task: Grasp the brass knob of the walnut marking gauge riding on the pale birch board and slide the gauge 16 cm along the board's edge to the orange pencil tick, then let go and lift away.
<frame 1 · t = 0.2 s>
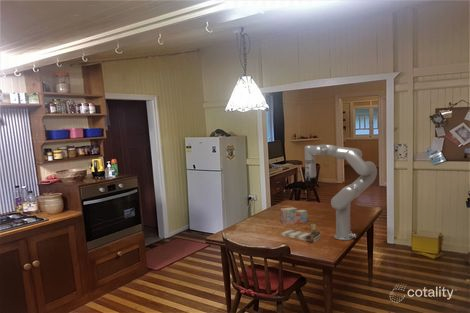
hand: (310, 184, 245), 36 cm above the table, tool pointing down, fingers open, 9 cm apart
stack of blocks: (294, 222, 276), on the table
birch board: (300, 236, 240), on the table
marking gauge: (313, 231, 233), point 6 cm above the table, slide at 0.0 cm
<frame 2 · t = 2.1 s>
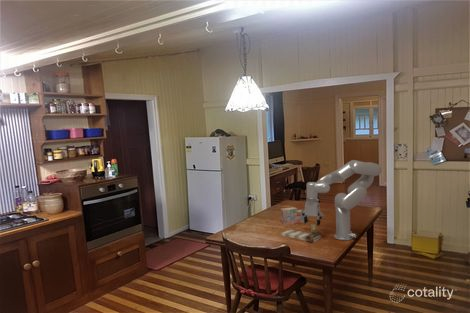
hand: (312, 223, 232), 11 cm above the table, tool pointing down, fingers open, 9 cm apart
nothing on the table moved.
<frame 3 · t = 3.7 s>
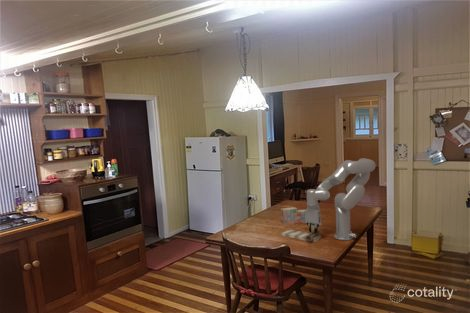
hand: (313, 232, 233), 5 cm above the table, tool pointing down, fingers closed on marking gauge, 3 cm apart
marking gauge: (313, 231, 233), point 6 cm above the table, slide at 0.0 cm, touching gripper
everything else where it was.
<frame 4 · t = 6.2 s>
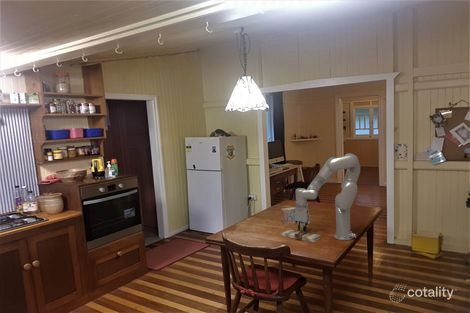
hand: (302, 230, 238), 5 cm above the table, tool pointing down, fingers closed on marking gauge, 3 cm apart
marking gauge: (302, 229, 238), point 6 cm above the table, slide at 8.8 cm, touching gripper
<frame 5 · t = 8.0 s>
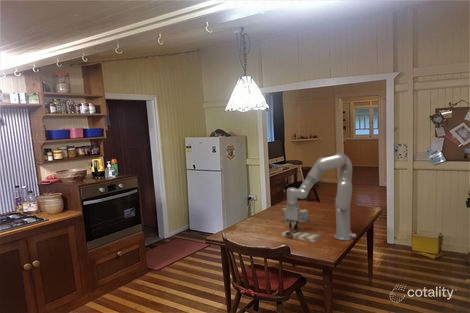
hand: (293, 228, 243), 5 cm above the table, tool pointing down, fingers closed on marking gauge, 3 cm apart
marking gauge: (293, 227, 243), point 6 cm above the table, slide at 15.9 cm, touching gripper
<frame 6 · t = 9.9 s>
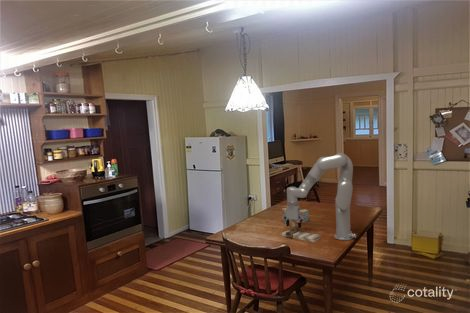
hand: (293, 226, 243), 7 cm above the table, tool pointing down, fingers open, 9 cm apart
marking gauge: (293, 227, 243), point 6 cm above the table, slide at 16.0 cm
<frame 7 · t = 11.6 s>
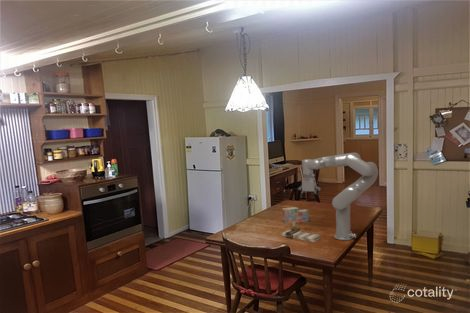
hand: (309, 198, 244), 26 cm above the table, tool pointing down, fingers open, 9 cm apart
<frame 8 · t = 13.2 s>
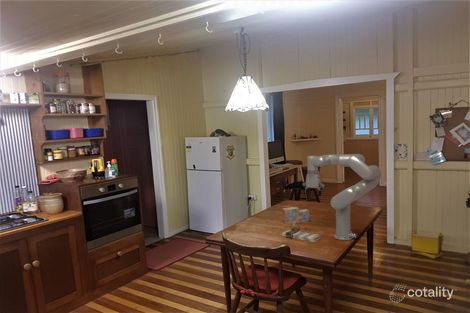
hand: (313, 195, 245), 28 cm above the table, tool pointing down, fingers open, 9 cm apart
at the end: marking gauge slide at 16.0 cm; the gripper is holding nothing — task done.
